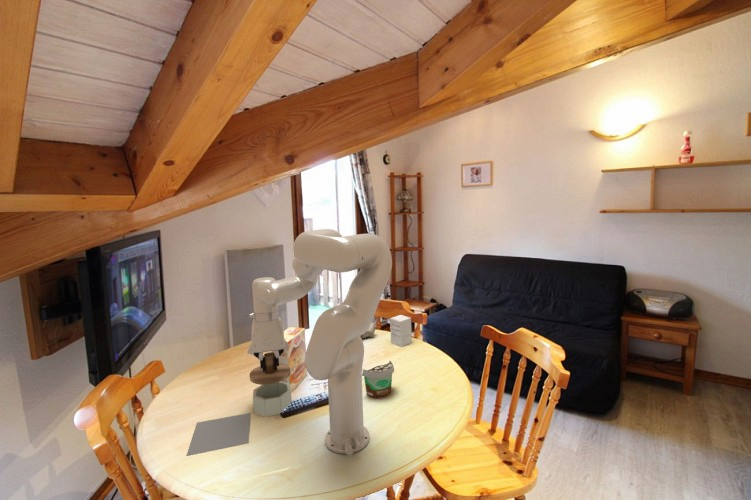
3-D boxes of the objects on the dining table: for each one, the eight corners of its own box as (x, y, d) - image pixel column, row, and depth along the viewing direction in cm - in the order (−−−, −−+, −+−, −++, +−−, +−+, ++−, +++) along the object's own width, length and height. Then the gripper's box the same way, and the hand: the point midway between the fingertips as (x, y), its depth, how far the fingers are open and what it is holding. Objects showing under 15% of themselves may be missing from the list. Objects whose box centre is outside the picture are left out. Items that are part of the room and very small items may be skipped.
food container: (372, 404, 121) (371, 376, 120) (363, 396, 126) (361, 369, 125) (401, 392, 128) (401, 365, 127) (391, 385, 133) (390, 360, 132)
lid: (291, 380, 116) (290, 359, 115) (249, 387, 112) (247, 365, 111) (289, 363, 128) (287, 344, 127) (250, 369, 125) (248, 349, 124)
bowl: (292, 413, 118) (291, 395, 117) (253, 420, 114) (252, 402, 113) (290, 395, 129) (289, 379, 128) (255, 401, 126) (253, 384, 125)
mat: (248, 445, 102) (248, 443, 102) (186, 457, 98) (186, 455, 98) (251, 414, 118) (250, 412, 118) (197, 424, 113) (196, 422, 113)
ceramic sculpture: (378, 322, 179) (349, 328, 174) (380, 338, 180) (351, 345, 175) (371, 316, 189) (343, 322, 184) (372, 332, 190) (345, 338, 185)
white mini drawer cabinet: (401, 339, 179) (400, 314, 177) (412, 343, 173) (411, 317, 172) (390, 343, 174) (389, 317, 173) (401, 347, 169) (400, 321, 167)
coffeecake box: (291, 394, 130) (287, 341, 127) (273, 392, 131) (269, 340, 129) (308, 374, 144) (305, 327, 142) (291, 373, 146) (288, 326, 143)
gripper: (238, 322, 112) (243, 378, 114) (293, 316, 116) (296, 370, 119) (240, 315, 119) (244, 368, 121) (291, 309, 124) (294, 361, 126)
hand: (270, 368), depth 120 cm, fingers closed on lid, 3 cm apart
